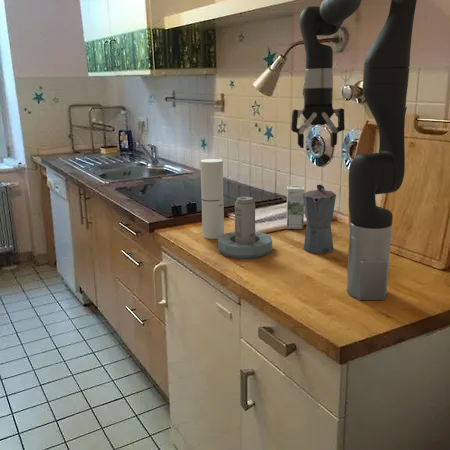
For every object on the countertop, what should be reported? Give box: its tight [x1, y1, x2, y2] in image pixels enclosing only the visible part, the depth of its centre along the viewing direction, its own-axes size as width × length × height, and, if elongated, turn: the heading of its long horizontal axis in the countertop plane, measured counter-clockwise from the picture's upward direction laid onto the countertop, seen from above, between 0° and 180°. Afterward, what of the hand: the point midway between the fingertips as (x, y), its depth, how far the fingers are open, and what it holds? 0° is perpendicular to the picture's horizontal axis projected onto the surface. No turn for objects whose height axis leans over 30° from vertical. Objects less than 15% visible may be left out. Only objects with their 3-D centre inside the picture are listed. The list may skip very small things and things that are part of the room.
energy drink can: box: [234, 196, 256, 243], centre depth 149 cm, size 6×6×15 cm
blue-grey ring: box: [217, 231, 273, 260], centre depth 151 cm, size 16×16×4 cm
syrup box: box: [286, 185, 306, 230], centre depth 171 cm, size 6×6×14 cm
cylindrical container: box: [200, 158, 225, 240], centre depth 163 cm, size 7×7×25 cm
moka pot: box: [303, 184, 337, 255], centre depth 149 cm, size 10×15×20 cm, turn 166°
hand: (317, 147), depth 139 cm, fingers open, 8 cm apart
